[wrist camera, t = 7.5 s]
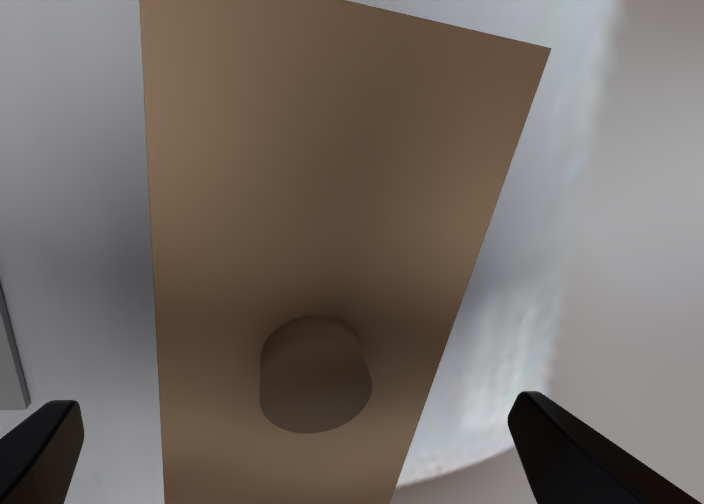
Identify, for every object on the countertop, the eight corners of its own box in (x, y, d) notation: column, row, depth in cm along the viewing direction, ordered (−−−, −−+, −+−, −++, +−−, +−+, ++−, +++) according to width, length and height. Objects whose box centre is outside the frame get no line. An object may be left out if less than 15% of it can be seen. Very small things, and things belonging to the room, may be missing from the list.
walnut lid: (370, 466, 15) (392, 561, 12) (179, 478, 14) (156, 591, 11) (496, 46, 9) (599, 50, 6) (167, -28, 7) (106, -70, 4)
